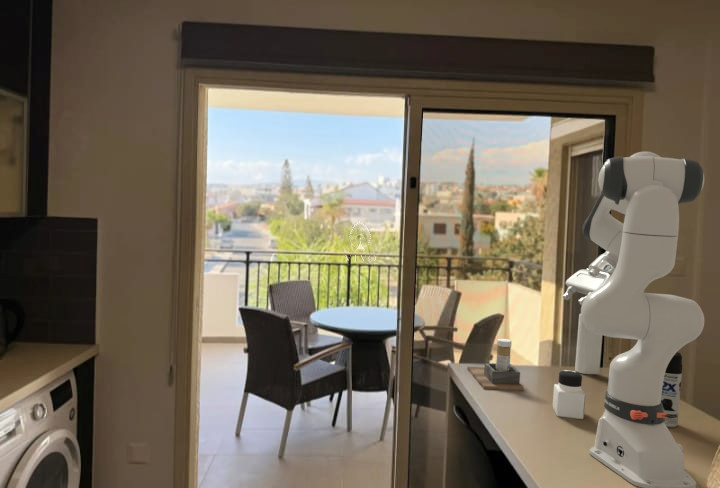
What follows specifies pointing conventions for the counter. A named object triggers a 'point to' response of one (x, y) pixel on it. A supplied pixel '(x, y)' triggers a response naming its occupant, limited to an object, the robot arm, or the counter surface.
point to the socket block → (496, 377)
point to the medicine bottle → (569, 395)
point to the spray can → (672, 390)
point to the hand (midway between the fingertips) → (572, 301)
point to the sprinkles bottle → (503, 354)
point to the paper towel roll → (587, 350)
